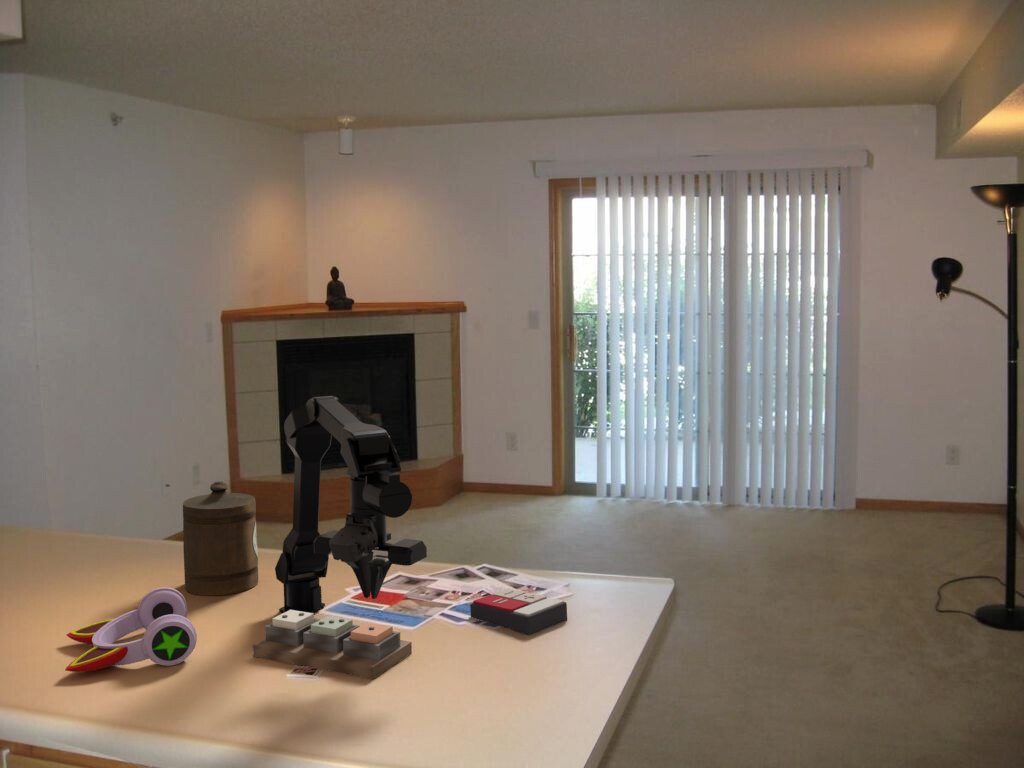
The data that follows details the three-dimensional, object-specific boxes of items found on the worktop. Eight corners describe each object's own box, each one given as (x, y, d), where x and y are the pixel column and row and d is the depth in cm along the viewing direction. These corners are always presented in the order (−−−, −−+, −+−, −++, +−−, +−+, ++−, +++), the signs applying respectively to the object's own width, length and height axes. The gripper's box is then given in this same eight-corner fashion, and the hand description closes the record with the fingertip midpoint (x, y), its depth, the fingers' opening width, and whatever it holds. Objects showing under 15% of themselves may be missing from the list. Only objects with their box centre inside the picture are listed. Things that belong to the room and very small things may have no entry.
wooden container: (273, 581, 211) (269, 479, 209) (218, 600, 199) (214, 492, 196) (225, 570, 219) (221, 472, 217) (169, 589, 206) (164, 484, 204)
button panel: (253, 656, 169) (252, 630, 169) (296, 633, 180) (295, 609, 180) (373, 679, 159) (372, 652, 159) (411, 653, 170) (411, 627, 169)
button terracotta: (350, 643, 165) (350, 630, 164) (367, 633, 169) (367, 621, 169) (376, 648, 162) (376, 634, 162) (392, 637, 167) (392, 625, 167)
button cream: (272, 629, 171) (272, 617, 171) (290, 620, 176) (290, 608, 176) (296, 634, 169) (296, 621, 169) (314, 624, 174) (313, 612, 173)
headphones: (199, 617, 166) (68, 620, 158) (194, 675, 167) (64, 681, 159) (188, 584, 184) (69, 585, 176) (183, 636, 185) (65, 640, 177)
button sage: (311, 636, 168) (310, 623, 168) (328, 626, 172) (328, 614, 172) (335, 640, 166) (335, 628, 166) (352, 631, 170) (352, 618, 170)
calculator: (508, 586, 196) (567, 598, 186) (509, 607, 196) (568, 620, 186) (468, 599, 188) (528, 613, 177) (470, 622, 188) (529, 636, 178)
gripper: (291, 511, 160) (294, 605, 162) (391, 522, 152) (393, 621, 154) (332, 496, 170) (334, 585, 172) (427, 506, 162) (429, 599, 164)
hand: (370, 597), depth 165 cm, fingers closed
